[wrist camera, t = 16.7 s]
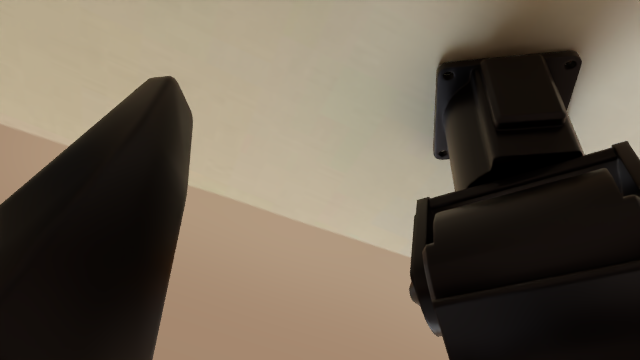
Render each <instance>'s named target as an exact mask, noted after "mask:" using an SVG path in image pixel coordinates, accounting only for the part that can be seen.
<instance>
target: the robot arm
mask: <svg viewBox="0 0 640 360" xmlns="http://www.w3.org/2000/svg"><path fill="white" fill-rule="evenodd" d="M568 61H572V62H571V63H569V64H565V63H567V62H568ZM581 64H582V60H581V58H580V56H579V54H578V53H577V52H575V51H565V52H554V53H543V54H531V55H520V56H509V57H498V58H487V59H477V60H466V61H455V62H447V63H443V64H441V65H440V66H439V67H438V69H437V74H436V96H435V119H434V141H433V151H434V156H435V157H436V158H437V159H442V160H443V159H450V164H451V170H452V175H453V181H454V187H455V192H452V193H448V194H445V195H441V196H438V197H434V198H429V197H427V198H423V199H420V200H417V208H416V215H415V216H414V229H413V242H412V255H411V268H410V269H411V270H410V276H411V281H412V282H411V285H410V288H409V291H410V296H411V298H412V300H413V301H414V302H415V303H417V304H418V305H419V306H420V307H421V309H422V312H423V314H424V317H425V319H426V322H427V323H428V325H429V327H430V329H431V330H432V332H433V333H434V334H435V335H436V336H438V337H439V336H442V337H443V340H444V343H445V347H446V350H447V353H448V356H449V360H640V160H639V158H638V157H637V155H636V154H635V152H634V151H633V149H632V148H631V146H630V145H629V143H628V142H627V141H625V142H621V143H618V144H614V145H612V148H609V149H605V150H601V151H598V152H594V153H591V154H587V155H584V152H583V150H582V147H581V145H580V143H579V140H578V138H577V135H576V133H575V130H574V128H573V125H572V123H571V121H570V118H569V116H568V113H567V108H568V105H569V102H570V99H571V96H572V93H573V89H574V86H575V83H576V80H577V77H578V74H579V71H580V67H581ZM446 72H452V73H450V74H448V75H444V73H446ZM192 128H193V118H192V113H191V110H190V108H189V106H188V104H187V101H186V99H185V97H184V95H183V93H182V91H181V89H180V86H179V84H178V82H177V81H176V80H175V78H173V77H171V76H165V77H154V78H150V79H148V80H147V81H146V82H144V83H143V84H142V85H141V86H140V87H139V88H137V89H136V90H135V91H134V92H133V93H132V94H130V95H129V96H128V97H127V98H126V99H124V100H123V101H122V102H121V103H120V104H119V105H117V106H116V107H115V108H114V109H113V110H111V111H110V112H109V113H108V114H107V115H106V116H104V117H103V118H102V119H101V120H100V121H99V122H97V123H96V124H95V125H94V126H93V127H91V128H90V129H89V130H88V131H87V132H86V133H84V134H83V135H82V136H81V137H80V138H78V139H77V140H76V141H75V142H74V143H73V144H71V145H70V146H69V147H68V148H67V149H66V150H64V151H63V152H62V153H61V154H60V155H59V156H57V157H56V158H55V159H54V160H53V161H51V162H50V163H49V164H48V165H47V166H46V167H44V168H43V169H42V170H41V171H40V172H38V173H37V174H36V175H35V176H34V177H33V178H31V179H30V180H29V181H28V182H27V183H25V184H24V185H23V186H22V187H21V188H20V189H18V190H17V191H16V192H15V193H14V194H13V195H11V196H10V197H9V198H8V199H7V200H5V201H4V202H3V203H2V204H1V205H0V360H152V359H153V354H154V349H155V345H156V340H157V335H158V330H159V326H160V321H161V316H162V311H163V306H164V301H165V297H166V292H167V288H168V282H169V278H170V273H171V268H172V263H173V259H174V253H175V249H176V244H177V240H178V235H179V230H180V226H181V220H182V216H183V211H184V206H185V201H186V195H187V186H188V176H189V164H190V152H191V140H192Z"/></svg>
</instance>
